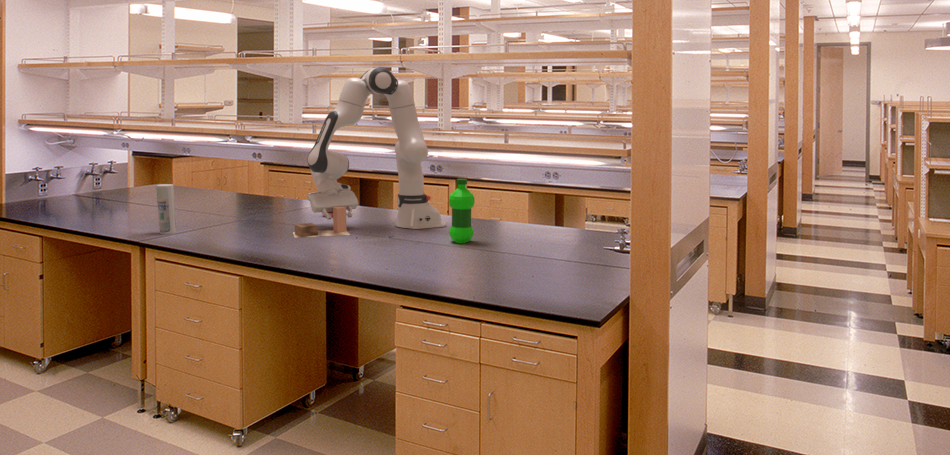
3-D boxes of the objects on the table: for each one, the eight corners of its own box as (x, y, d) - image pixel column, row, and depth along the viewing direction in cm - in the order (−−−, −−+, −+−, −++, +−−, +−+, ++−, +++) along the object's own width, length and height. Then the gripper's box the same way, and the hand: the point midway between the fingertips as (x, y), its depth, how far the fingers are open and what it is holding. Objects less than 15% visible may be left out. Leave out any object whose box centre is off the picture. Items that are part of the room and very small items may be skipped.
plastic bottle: (452, 238, 286) (453, 177, 281) (477, 240, 283) (478, 178, 278) (444, 243, 277) (444, 180, 272) (470, 245, 274) (470, 181, 269)
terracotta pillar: (342, 229, 296) (341, 206, 294) (346, 231, 293) (346, 207, 291) (333, 230, 293) (332, 207, 292) (337, 232, 290) (337, 208, 288)
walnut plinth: (311, 232, 290) (310, 222, 289) (318, 235, 284) (317, 225, 284) (294, 234, 286) (294, 224, 285) (301, 236, 280) (301, 227, 279)
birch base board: (346, 232, 297) (346, 229, 297) (350, 237, 286) (350, 234, 286) (292, 234, 290) (292, 232, 290) (294, 240, 279) (294, 237, 279)
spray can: (156, 233, 290) (152, 185, 286) (168, 230, 296) (164, 183, 292) (168, 234, 288) (164, 186, 284) (180, 232, 294) (176, 184, 290)
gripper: (308, 188, 289) (318, 215, 283) (353, 185, 301) (364, 210, 295) (304, 197, 294) (314, 224, 288) (348, 194, 306) (359, 219, 300)
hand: (340, 217), depth 292 cm, fingers open, 8 cm apart
